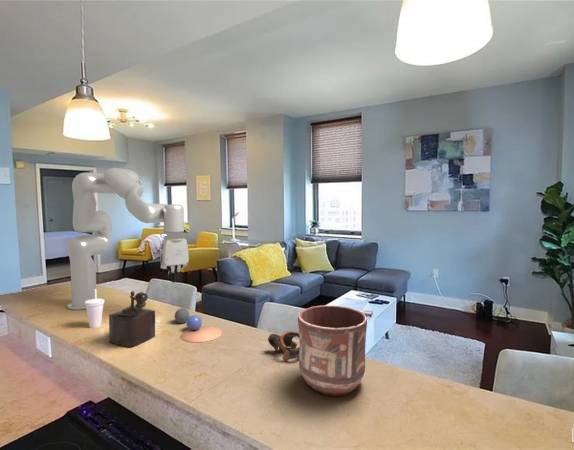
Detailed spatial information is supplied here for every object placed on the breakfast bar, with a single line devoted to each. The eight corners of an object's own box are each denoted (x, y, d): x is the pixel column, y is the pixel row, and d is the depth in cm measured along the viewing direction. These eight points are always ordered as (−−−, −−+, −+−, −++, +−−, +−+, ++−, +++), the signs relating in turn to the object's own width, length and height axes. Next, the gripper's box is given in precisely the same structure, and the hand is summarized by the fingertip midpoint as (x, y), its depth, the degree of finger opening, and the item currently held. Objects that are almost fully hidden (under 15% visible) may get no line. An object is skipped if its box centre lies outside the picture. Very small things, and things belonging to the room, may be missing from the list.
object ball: (184, 313, 119) (192, 319, 115) (198, 311, 123) (205, 317, 119) (182, 328, 119) (189, 334, 115) (196, 325, 123) (203, 331, 119)
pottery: (297, 365, 94) (298, 303, 93) (359, 367, 93) (361, 305, 92) (296, 402, 76) (296, 327, 75) (372, 406, 75) (374, 330, 74)
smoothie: (108, 323, 125) (108, 287, 124) (97, 329, 118) (96, 291, 118) (93, 322, 125) (92, 286, 125) (81, 329, 119) (80, 291, 118)
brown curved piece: (304, 349, 105) (310, 332, 101) (298, 374, 98) (303, 358, 93) (269, 337, 107) (273, 320, 103) (260, 361, 99) (263, 344, 95)
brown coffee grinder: (106, 343, 107) (105, 289, 106) (134, 331, 117) (133, 282, 116) (141, 352, 101) (140, 295, 100) (167, 339, 111) (166, 287, 110)
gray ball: (178, 307, 124) (181, 321, 122) (190, 305, 128) (193, 318, 126) (170, 312, 127) (173, 326, 125) (182, 310, 131) (185, 323, 129)
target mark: (175, 332, 117) (175, 332, 116) (211, 324, 125) (211, 323, 125) (190, 346, 106) (190, 345, 106) (228, 335, 114) (228, 335, 114)
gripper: (159, 237, 120) (159, 286, 122) (196, 235, 131) (196, 280, 132) (151, 236, 126) (151, 283, 127) (187, 234, 136) (187, 277, 137)
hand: (174, 281), depth 129 cm, fingers closed
